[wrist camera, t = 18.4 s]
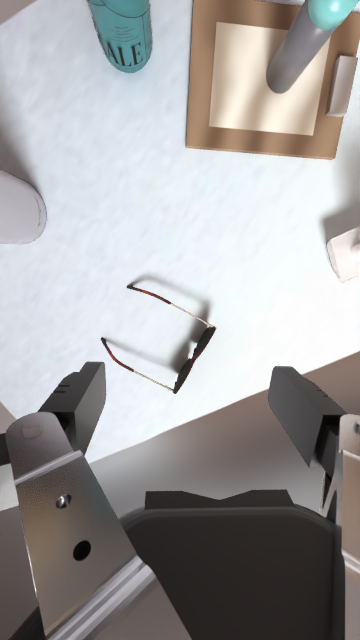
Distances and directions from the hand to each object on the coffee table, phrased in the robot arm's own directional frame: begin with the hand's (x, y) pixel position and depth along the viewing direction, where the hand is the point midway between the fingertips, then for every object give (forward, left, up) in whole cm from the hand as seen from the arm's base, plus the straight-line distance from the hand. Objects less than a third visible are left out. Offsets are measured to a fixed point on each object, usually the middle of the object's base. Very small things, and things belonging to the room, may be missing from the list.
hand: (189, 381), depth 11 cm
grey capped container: (+13, +29, -29) cm, 43 cm away
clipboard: (+12, +28, -30) cm, 43 cm away
